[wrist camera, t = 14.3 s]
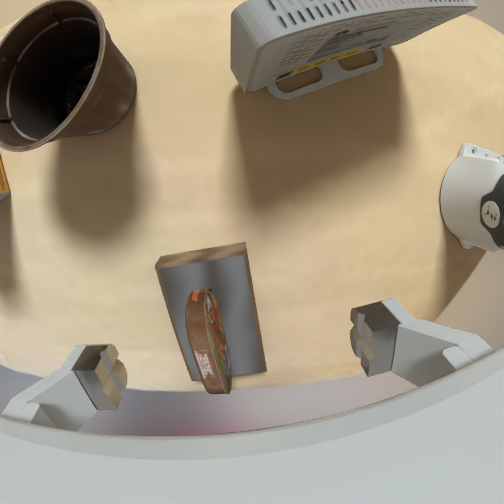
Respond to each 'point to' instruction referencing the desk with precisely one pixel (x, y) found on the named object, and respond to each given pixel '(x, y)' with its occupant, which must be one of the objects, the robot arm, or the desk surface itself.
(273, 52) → the network device
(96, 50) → the plant pot
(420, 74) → the desk surface
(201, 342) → the tin
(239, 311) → the plinth
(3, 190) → the hard drive box
